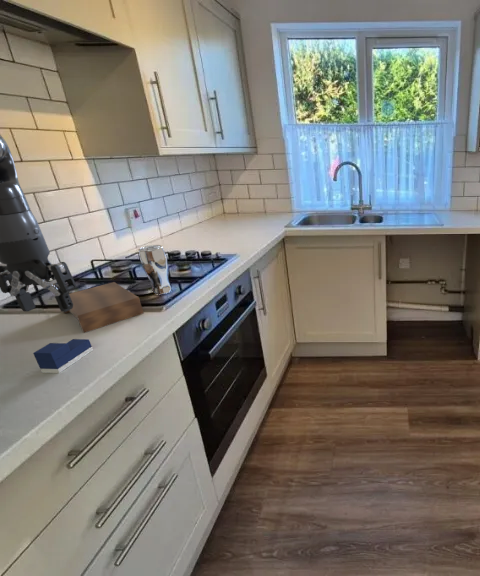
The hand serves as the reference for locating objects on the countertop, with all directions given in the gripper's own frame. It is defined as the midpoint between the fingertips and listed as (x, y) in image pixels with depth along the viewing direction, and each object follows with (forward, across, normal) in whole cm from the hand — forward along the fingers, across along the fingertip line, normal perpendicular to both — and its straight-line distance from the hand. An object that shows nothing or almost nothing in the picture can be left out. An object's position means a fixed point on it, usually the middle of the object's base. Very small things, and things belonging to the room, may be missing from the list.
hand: (48, 310), depth 77 cm
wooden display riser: (+13, -11, +24) cm, 29 cm away
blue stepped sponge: (+13, 0, 0) cm, 13 cm away
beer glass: (+13, -3, +39) cm, 41 cm away
